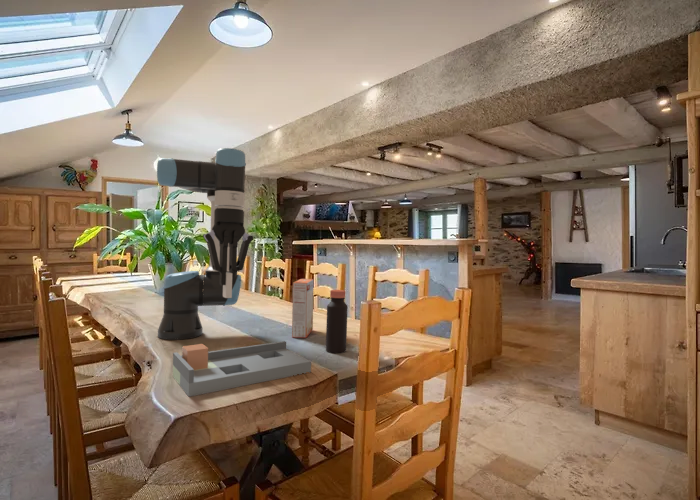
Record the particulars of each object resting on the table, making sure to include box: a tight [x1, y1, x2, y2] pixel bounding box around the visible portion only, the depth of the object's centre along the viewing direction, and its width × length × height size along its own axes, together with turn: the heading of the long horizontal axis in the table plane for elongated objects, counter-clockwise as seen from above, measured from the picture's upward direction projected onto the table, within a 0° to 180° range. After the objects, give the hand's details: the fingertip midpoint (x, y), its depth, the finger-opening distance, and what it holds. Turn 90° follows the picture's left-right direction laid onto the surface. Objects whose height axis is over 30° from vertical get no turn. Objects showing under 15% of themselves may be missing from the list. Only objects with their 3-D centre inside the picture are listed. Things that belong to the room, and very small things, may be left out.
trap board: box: [172, 340, 312, 397], centre depth 103 cm, size 16×32×6 cm, turn 127°
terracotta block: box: [181, 343, 209, 370], centre depth 99 cm, size 5×5×5 cm
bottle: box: [325, 289, 349, 354], centre depth 128 cm, size 7×7×20 cm
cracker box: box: [291, 278, 315, 339], centre depth 150 cm, size 14×6×21 cm, turn 175°
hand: (227, 297), depth 103 cm, fingers closed
